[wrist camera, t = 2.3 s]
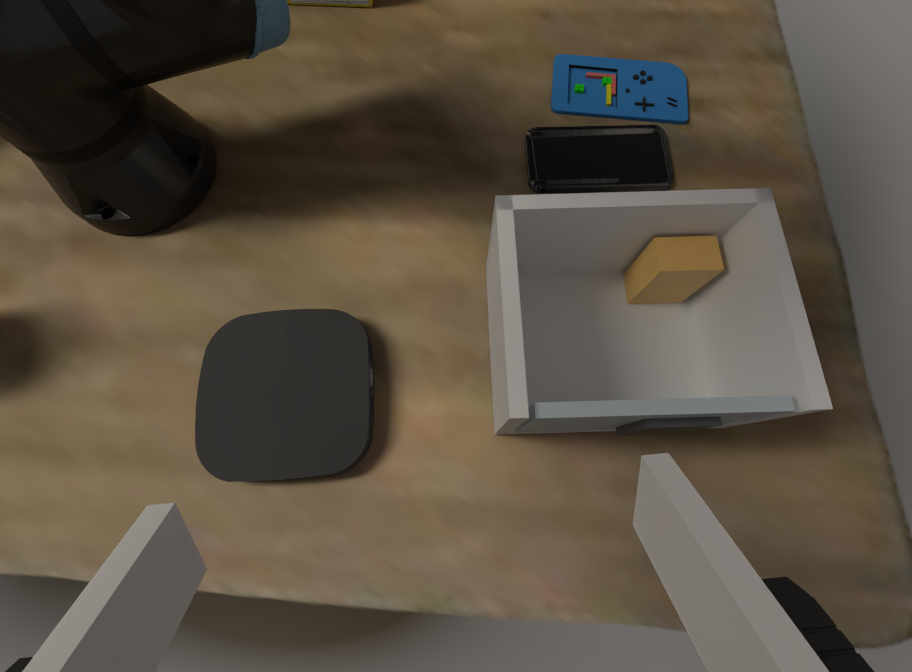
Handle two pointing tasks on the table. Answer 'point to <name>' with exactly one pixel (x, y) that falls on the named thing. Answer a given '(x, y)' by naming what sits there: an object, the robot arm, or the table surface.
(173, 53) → the robot arm
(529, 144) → the phone
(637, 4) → the table surface
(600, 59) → the handheld gaming device
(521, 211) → the open box
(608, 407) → the side door
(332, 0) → the candy box
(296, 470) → the media streaming box
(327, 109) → the table surface
